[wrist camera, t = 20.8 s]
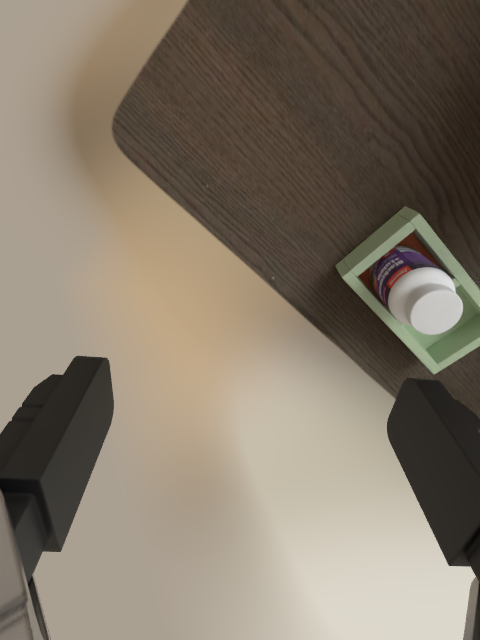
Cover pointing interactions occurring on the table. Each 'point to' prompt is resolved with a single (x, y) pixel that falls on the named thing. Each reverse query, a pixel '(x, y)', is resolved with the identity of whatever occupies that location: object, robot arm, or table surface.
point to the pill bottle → (416, 290)
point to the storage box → (413, 231)
